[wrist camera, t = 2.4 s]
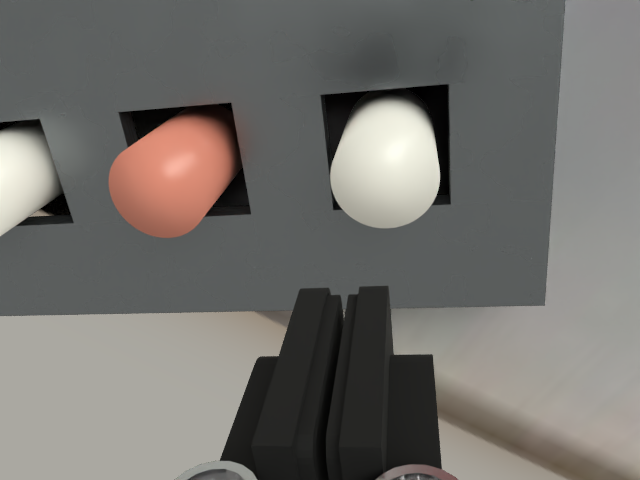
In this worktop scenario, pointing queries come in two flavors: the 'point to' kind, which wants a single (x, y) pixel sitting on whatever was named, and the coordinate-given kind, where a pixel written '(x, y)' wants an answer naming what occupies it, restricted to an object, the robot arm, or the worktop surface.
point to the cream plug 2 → (386, 160)
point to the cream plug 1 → (25, 173)
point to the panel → (282, 150)
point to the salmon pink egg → (176, 171)
